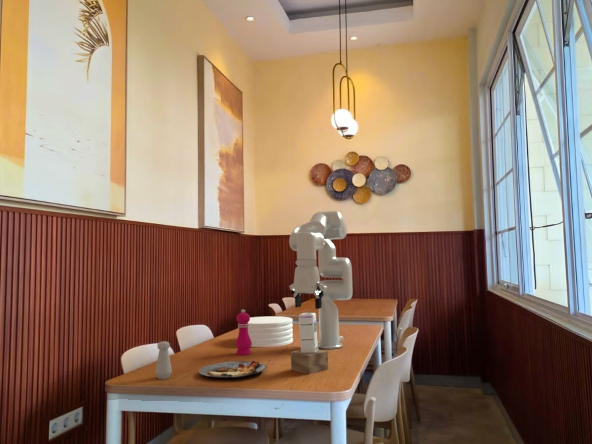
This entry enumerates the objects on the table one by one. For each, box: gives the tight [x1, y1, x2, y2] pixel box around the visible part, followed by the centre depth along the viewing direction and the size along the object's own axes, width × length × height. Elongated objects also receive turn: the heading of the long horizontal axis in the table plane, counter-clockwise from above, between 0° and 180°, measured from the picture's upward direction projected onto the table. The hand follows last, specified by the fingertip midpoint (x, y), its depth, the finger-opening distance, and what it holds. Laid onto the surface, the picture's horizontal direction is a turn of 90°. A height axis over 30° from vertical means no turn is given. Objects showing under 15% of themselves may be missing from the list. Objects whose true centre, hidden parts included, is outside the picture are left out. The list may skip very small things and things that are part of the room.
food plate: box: [198, 360, 268, 379], centre depth 175 cm, size 25×23×4 cm
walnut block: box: [290, 349, 329, 375], centre depth 178 cm, size 10×10×7 cm
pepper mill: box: [235, 309, 252, 356], centre depth 211 cm, size 7×7×20 cm
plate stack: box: [248, 315, 294, 348], centre depth 240 cm, size 28×28×12 cm
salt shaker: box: [155, 341, 173, 380], centre depth 171 cm, size 6×6×13 cm
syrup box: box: [298, 312, 319, 353], centre depth 178 cm, size 6×6×14 cm
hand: (308, 307), depth 180 cm, fingers open, 9 cm apart
